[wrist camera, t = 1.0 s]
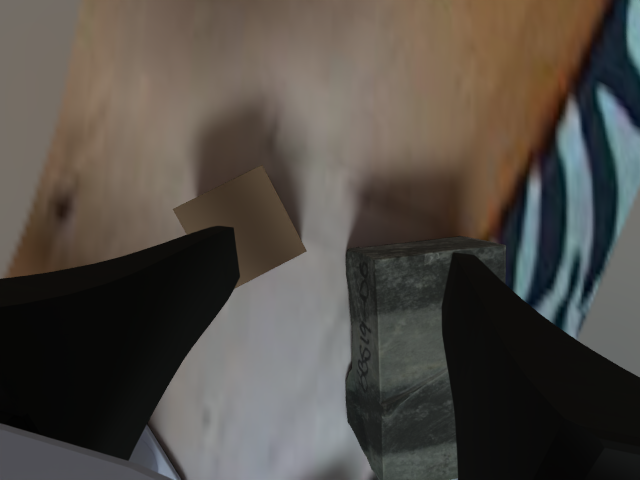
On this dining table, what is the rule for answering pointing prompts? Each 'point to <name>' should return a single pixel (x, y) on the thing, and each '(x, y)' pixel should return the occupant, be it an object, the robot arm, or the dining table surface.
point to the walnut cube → (247, 222)
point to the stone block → (405, 355)
